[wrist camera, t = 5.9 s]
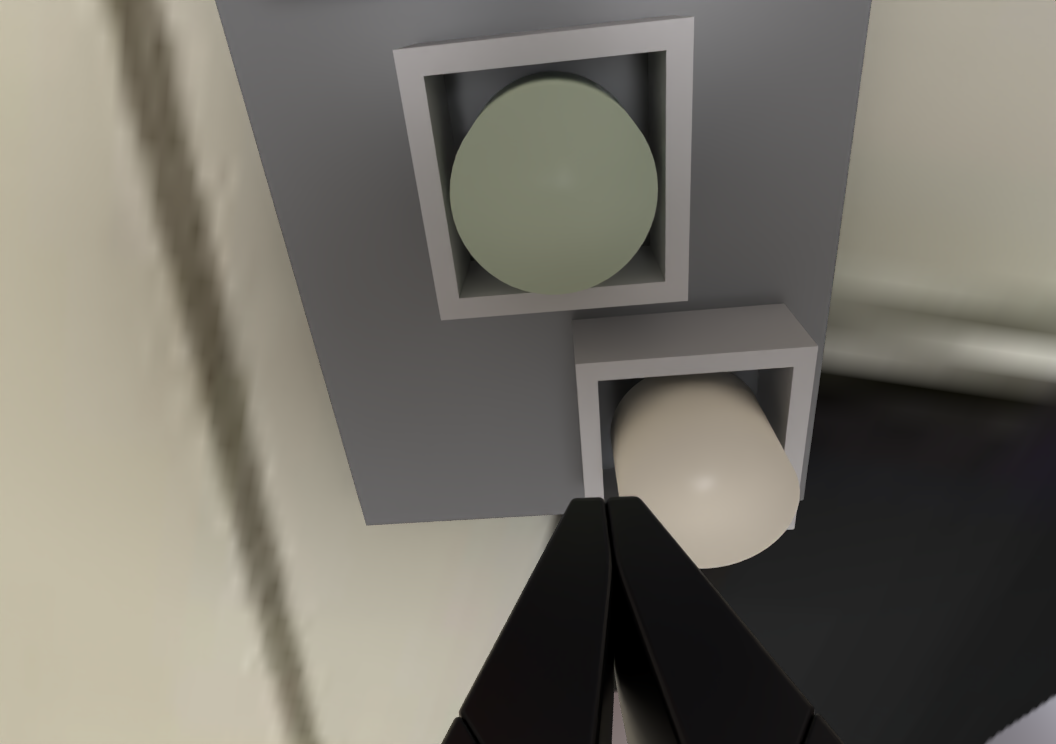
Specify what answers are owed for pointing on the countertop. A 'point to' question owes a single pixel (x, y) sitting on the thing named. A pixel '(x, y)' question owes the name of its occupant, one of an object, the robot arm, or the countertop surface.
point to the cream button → (705, 465)
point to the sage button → (553, 185)
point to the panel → (529, 318)
